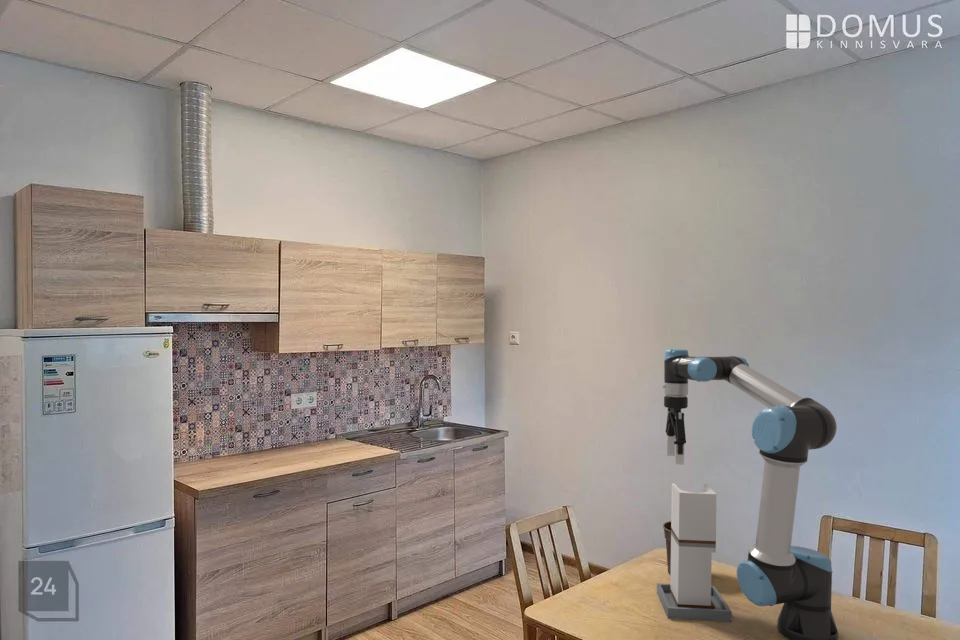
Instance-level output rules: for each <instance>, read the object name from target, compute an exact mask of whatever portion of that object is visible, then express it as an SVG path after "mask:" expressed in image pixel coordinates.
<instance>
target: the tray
mask: <svg viewBox="0 0 960 640" xmlns="http://www.w3.org/2000/svg"><path fill="white" fill-rule="evenodd" d="M656 595H657V597H658V599H659V601H660V604H661V606H662V608H663V611H664V613H665V616H666V618H667V619H668V620H669V619H671V620H672V619H673V620H686V621H687V620H688V621H689V620H690V621H691V620H693V621H708V622H727V623H728V622H729V623H732V610H731V609H730V607H729V606H728V604H727V602H726V601H725V599H724V597H723V596H722V595H721V594H720V592H719V590H718V589H717V588H716V585H711V600H712V602H713V604H714V605H715V609H702V608H683V607H676V606H675V604H674V602H673V600H672V598H671V595H670V583H656Z"/></svg>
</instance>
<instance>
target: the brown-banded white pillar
mask: <svg viewBox="0 0 960 640" xmlns="http://www.w3.org/2000/svg"><path fill="white" fill-rule="evenodd" d="M670 504H671V506H670V508H671V513H670V514H671V517H670V518H671V519H670V521H671V575H670V579H669V580H670V582H669V584H670V595H671V598H672V600H673V602H674V604H675V606H676V607H683V608H702V609H715V605H714V604H713V602H712V600H711V586H712V555H713V554H712V553H714V554H715V553H716V552H717V551H716V549H717V493H716V492H715V491H714V490H713V489H712V488H711V487H710V486H708V484H703V492H691V491H686V490H683V489H681V488H679V487H678V485H677V484H676V483H671V503H670Z"/></svg>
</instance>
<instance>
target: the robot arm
mask: <svg viewBox="0 0 960 640" xmlns="http://www.w3.org/2000/svg"><path fill="white" fill-rule="evenodd" d="M663 363H664V367H663V368H664V371H663V373H664V375H663V376H664V381H663V382H664V384H663V385H662V389H664V391H663V392H664V396H663V407H664V408H667V416H666V425H665V433H666V456H672V457H673V456H674V465H685V444H687V438H686V430H685V429H686V427H685V413H684V412H682V410H683V409H687V408H688V405H689V404H688V403H689V402H688V401H689V400H688V398H689V397H688V395H689V380H691V381H694V382H695V381H696V382H698V383H699V382H705V383H706V382H710V381H725V382H727V383H729V384H731V385H733V386H734V387H735V388H737V389H739V390H741V391H742V392H744V393H745V394H746V395H748V396H749V397H751V398H753V399H754V400H756V401H758V402H759V403H761V404H762V405H764V406H765V408H763V410H761V411H760V412H758V413H757V415H756V416H755V418H754V419H753V423H752V424H751V425H752V426H751V437H752V439H753V440H754V441H753V443H754V444H755V446H756V447H757V448H758V450H759V453H758V454H759V455H760V456H761V458H762V459H763V460H764V461H763V463H764V464H763V472H762V480H761V481H762V483H761V490H760V501H759V509H758V510H759V511H758V520H757V527H756V528H757V529H756V538H755V544H753V545H751V546H750V547H749V548H748V554H747V560H743V561H742V562H741V563H739V564H738V565H737V568H736V578H737V583H738V585H739V588H740V590H741V591H742V592H741V593H742V594H743V595H744V596H745V597H746V598H747V600H748V601H749V602H751V603H752V604H754V605H755V606H758V607H773V606H775V605H781V604H783V605H782V607H781V610H780V612H779V614H778V616H777V617H778V618H777V620H776V621H777V622H776V624H777V626H776V628H777V631H778V632H779V634H781V635H782V636H783V637H784V638H786V639H788V640H839V630H838V628H837V627H838V626H837V625H836V622H835V618H834V615H833V612H832V594H833V593H832V588H833V587H832V584H833V583H832V582H833V570H832V568H833V567H832V560H831V558H830V557H829V556H828V555H826V554H825V553H823V552H820V551H818V550H815V549H812V548H807V547H803V546H797V545H792V541H793V540H792V539H793V531H794V523H795V522H794V521H795V515H796V514H795V513H796V512H795V511H796V505H797V496H798V488H799V487H798V486H799V478H800V470H801V466H803V465H804V464H806V463H807V462H808V457H809V450H818V449H822V448H824V447H827V446H828V445H829V444H830V443H831V442H833V440H834V438H835V436H836V434H837V427H838V426H837V421H836V418H835V416H834V415H833V413H832V412H831V411H830V410H829V409H828V408H827V407H826V406H825V405H823V404H821V403H820V402H818V401H817V400H814V399H813V398H811V397H802V396H800V395H798V394H797V393H795V392H793V391H792V390H790V389H788V388H787V387H785V386H783V385H781V384H779V383H778V382H776V381H774V380H773V379H771V378H769V377H767V376H765V375H764V374H762V373H761V372H760V371H759V372H758V371H757V370H755V369H754V368H752V367H751V366H750V365H749V363H748V362H747V359H746V358H744V357H741V356H736V355H733V356H732V355H729V356H690V355H689V350H687V349H684V348H683V349H682V348H681V349H680V348H668V349H666V350H665V352H664V360H663ZM766 407H767V408H766Z"/></svg>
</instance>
